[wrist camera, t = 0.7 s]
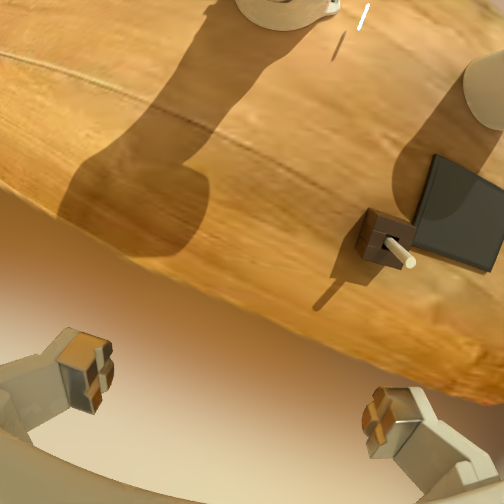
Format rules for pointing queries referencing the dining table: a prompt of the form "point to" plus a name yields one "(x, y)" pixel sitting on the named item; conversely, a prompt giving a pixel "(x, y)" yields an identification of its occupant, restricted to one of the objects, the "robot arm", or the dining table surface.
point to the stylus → (399, 252)
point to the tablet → (460, 215)
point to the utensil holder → (486, 90)
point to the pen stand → (375, 234)
